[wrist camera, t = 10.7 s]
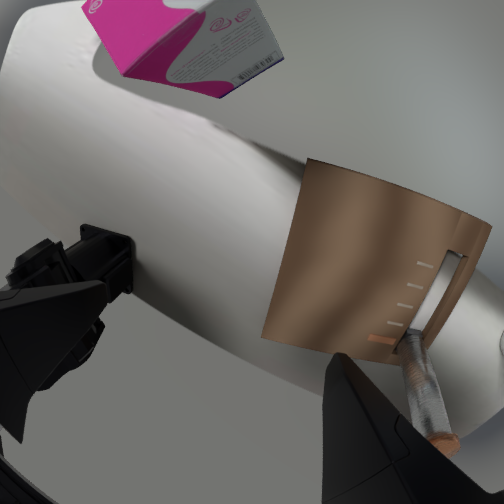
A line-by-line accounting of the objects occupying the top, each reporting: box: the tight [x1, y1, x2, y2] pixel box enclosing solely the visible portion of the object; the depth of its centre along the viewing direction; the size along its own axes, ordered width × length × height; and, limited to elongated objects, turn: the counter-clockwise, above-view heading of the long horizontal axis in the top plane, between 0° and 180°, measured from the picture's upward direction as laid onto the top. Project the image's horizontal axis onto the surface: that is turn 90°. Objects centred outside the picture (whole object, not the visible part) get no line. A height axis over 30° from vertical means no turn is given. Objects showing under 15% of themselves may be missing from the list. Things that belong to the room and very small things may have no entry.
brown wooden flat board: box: [261, 158, 492, 366], centre depth 21 cm, size 16×16×1 cm
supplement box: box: [81, 0, 284, 99], centre depth 11 cm, size 6×6×12 cm
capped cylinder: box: [395, 328, 460, 459], centre depth 17 cm, size 4×4×13 cm
